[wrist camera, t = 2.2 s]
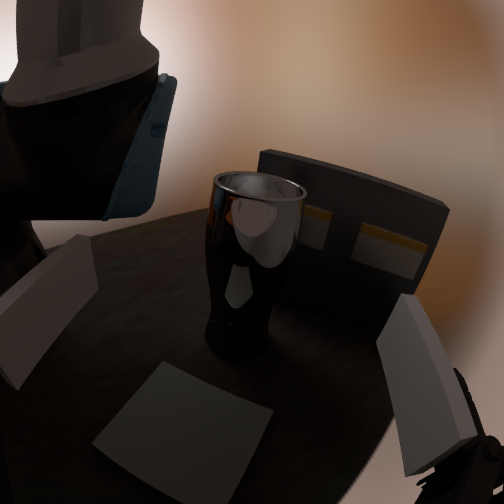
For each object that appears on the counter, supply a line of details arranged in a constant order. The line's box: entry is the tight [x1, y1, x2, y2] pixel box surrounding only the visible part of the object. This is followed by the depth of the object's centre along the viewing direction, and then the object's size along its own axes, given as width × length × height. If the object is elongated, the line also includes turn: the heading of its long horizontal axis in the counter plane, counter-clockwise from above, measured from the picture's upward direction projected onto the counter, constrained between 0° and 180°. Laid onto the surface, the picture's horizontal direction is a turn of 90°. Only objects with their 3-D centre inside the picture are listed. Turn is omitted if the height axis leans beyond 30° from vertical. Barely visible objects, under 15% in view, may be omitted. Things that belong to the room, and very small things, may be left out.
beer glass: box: [205, 171, 308, 360], centre depth 22 cm, size 7×7×15 cm
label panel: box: [257, 149, 450, 334], centre depth 29 cm, size 19×6×16 cm, turn 68°
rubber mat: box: [91, 361, 274, 504], centre depth 16 cm, size 10×10×1 cm
